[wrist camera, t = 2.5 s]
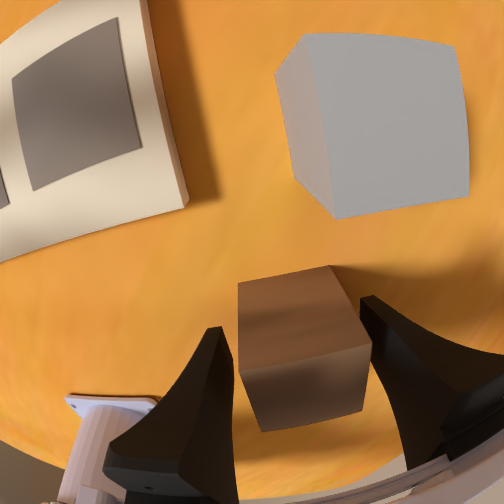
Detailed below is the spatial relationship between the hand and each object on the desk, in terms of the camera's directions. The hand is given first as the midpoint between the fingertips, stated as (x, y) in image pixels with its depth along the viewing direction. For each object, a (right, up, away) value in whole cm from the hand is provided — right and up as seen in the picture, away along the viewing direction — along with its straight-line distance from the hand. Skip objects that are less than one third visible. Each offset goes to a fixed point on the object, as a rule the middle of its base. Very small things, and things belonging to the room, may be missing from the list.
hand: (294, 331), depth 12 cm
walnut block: (0, +1, +1) cm, 2 cm away
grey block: (+1, +8, -2) cm, 9 cm away
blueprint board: (-12, +8, -3) cm, 15 cm away
